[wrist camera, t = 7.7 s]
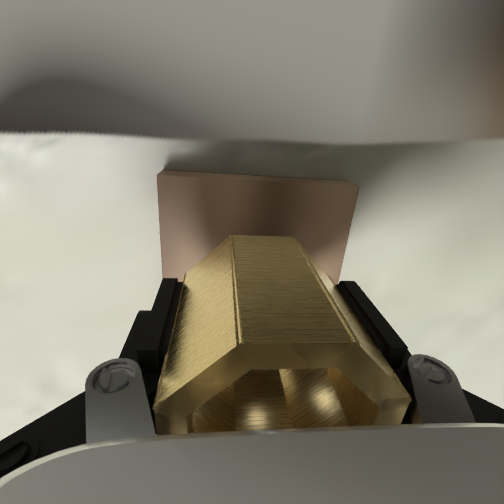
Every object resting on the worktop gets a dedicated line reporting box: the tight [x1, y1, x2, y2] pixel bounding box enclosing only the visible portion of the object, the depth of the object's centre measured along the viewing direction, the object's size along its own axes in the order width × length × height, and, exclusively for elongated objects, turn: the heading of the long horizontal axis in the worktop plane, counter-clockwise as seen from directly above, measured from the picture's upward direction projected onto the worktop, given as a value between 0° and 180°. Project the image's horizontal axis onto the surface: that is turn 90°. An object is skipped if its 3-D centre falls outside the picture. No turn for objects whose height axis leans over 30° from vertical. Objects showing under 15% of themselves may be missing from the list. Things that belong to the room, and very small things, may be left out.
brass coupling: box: [152, 234, 412, 435], centre depth 10 cm, size 6×6×6 cm
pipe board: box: [157, 170, 359, 285], centre depth 19 cm, size 10×18×2 cm, turn 176°
